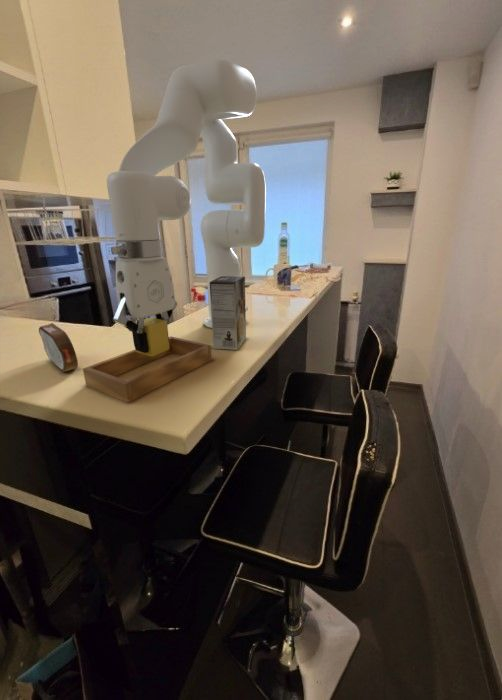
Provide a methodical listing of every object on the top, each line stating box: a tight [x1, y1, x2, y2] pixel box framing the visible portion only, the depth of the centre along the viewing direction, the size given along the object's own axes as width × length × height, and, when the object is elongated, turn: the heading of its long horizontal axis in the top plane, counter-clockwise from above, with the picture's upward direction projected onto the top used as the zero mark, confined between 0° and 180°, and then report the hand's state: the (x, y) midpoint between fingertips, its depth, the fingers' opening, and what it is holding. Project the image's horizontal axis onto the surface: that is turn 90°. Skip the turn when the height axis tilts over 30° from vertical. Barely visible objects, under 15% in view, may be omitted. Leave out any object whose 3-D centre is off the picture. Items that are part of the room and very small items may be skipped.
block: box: [136, 316, 169, 356], centre depth 64 cm, size 4×4×6 cm
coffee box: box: [210, 276, 247, 351], centre depth 79 cm, size 9×6×16 cm
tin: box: [38, 322, 79, 373], centre depth 68 cm, size 15×3×8 cm, turn 44°
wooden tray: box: [82, 335, 213, 404], centre depth 65 cm, size 22×12×4 cm, turn 147°
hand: (152, 346), depth 65 cm, fingers closed on block, 4 cm apart
